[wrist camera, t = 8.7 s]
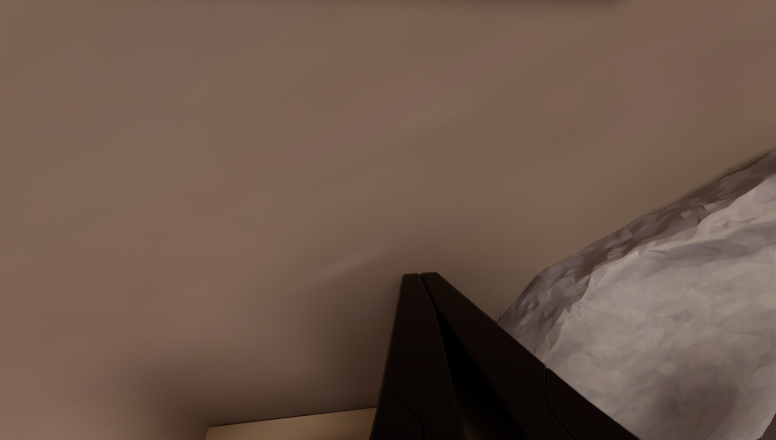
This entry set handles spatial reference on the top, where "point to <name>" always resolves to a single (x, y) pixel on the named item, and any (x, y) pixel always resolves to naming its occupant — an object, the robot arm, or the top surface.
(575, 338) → the stone block
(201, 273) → the top surface
